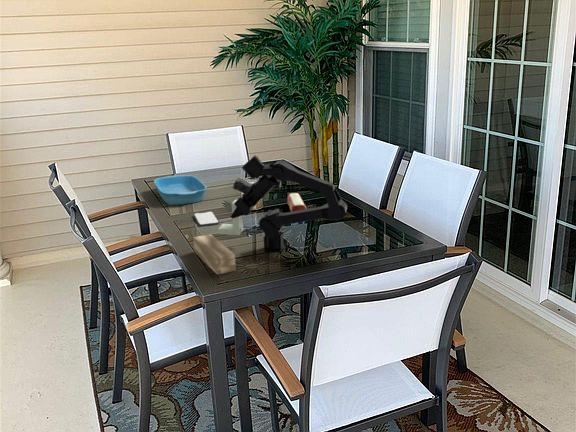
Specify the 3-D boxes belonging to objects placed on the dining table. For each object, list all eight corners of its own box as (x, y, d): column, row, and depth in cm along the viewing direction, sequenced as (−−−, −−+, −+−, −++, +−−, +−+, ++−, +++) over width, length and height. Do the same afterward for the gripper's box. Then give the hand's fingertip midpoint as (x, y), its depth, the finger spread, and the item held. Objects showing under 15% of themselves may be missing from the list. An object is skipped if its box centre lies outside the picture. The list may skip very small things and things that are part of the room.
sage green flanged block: (243, 229, 218) (242, 199, 215) (239, 235, 213) (237, 204, 209) (223, 228, 220) (221, 198, 216) (218, 234, 214) (216, 203, 211)
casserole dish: (212, 203, 274) (211, 189, 272) (165, 209, 266) (163, 195, 264) (193, 186, 307) (192, 172, 304) (151, 190, 299) (150, 177, 296)
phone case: (220, 226, 244) (212, 214, 258) (220, 222, 243) (212, 211, 258) (199, 228, 241) (193, 216, 256) (199, 225, 241) (192, 213, 255)
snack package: (287, 205, 268) (286, 191, 266) (301, 205, 269) (301, 191, 267) (291, 219, 248) (291, 204, 246) (307, 219, 249) (306, 204, 247)
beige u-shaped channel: (211, 248, 217) (210, 234, 215) (235, 270, 196) (234, 254, 194) (194, 251, 214) (193, 237, 212) (217, 274, 193) (216, 258, 192)
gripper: (252, 166, 217) (225, 193, 222) (239, 178, 199) (210, 207, 205) (273, 187, 218) (245, 213, 223) (261, 200, 200) (232, 229, 206)
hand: (233, 215), depth 214 cm, fingers closed on sage green flanged block, 5 cm apart
